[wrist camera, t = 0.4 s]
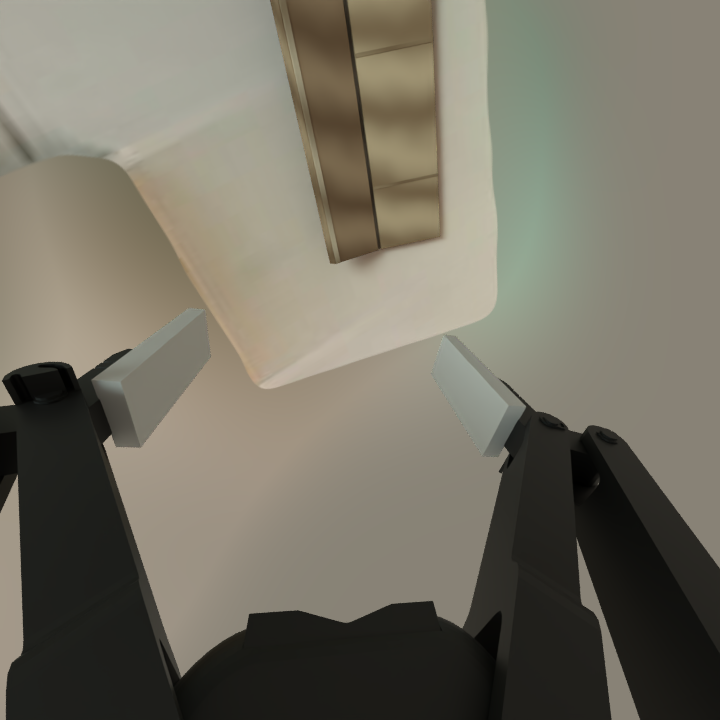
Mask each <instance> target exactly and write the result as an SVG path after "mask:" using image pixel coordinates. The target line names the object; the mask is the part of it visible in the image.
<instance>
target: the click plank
mask: <svg viewBox="0 0 720 720" xmlns="http://www.w3.org/2000/svg"><path fill="white" fill-rule="evenodd" d="M270 2H271V6H272V10H273V15H274V19H275V23H276V28H277V32H278V37H279V41H280V45H281V50H282V54H283V58H284V63H285V67H286V72H287V76H288V80H289V85H290V89H291V94H292V98H293V102H294V107H295V111H296V115H297V120H298V124H299V129H300V133H301V137H302V142H303V146H304V150H305V155H306V159H307V164H308V168H309V172H310V177H311V181H312V185H313V190H314V194H315V199H316V203H317V207H318V212H319V216H320V221H321V225H322V229H323V234H324V238H325V242H326V247H327V251H328V256H329V260H330V263H331V264H337V263H340V262H343V261H346V260H349V259H352V258H355V257H358V256H361V255H364V254H367V253H370V252H373V251H376V250H378V245H377V238H376V231H375V224H374V216H373V209H372V202H371V195H370V188H369V181H368V174H367V167H366V160H365V153H364V146H363V139H362V132H361V125H360V118H359V111H358V104H357V96H356V89H355V82H354V75H353V68H352V61H351V54H350V47H349V40H348V33H347V26H346V19H345V12H344V5H343V0H270Z"/></svg>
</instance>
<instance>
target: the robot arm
mask: <svg viewBox="0 0 720 720" xmlns="http://www.w3.org/2000/svg"><path fill="white" fill-rule="evenodd" d="M207 329H208V328H207V320H206V312H205V310H204V309H195V308H188V309H187V310H186V311H184V312H183V313H181V314H180V315H179V316H177V317H176V318H175V319H173V320H172V321H171V322H169V323H168V324H167V325H165V326H164V327H162V328H161V329H160V330H158V331H157V332H156V333H154V334H153V335H152V336H150V337H149V338H147V339H146V340H145V341H144V342H142V343H141V344H139V345H138V346H137V347H135V348H134V349H126V350H124V351H121V352H119V353H116V354H114V355H112V356H111V357H109V358H108V359H106V360H105V361H104V362H103V363H100V364H99V365H97V366H96V367H95V369H92V370H90V371H89V372H87V373H86V374H84V375H83V376H82V377H80V378H79V379H77V378H76V376H75V373H74V371H73V368H72V367H71V366H70V365H69V364H66V363H62V362H45V363H37V364H33V365H28V366H25V367H22V368H19V369H16V370H14V371H12V372H10V373H9V374H7V375H5V376H4V378H3V380H2V382H3V384H4V385H5V387H6V389H7V391H8V393H9V394H10V396H11V398H12V400H13V402H14V403H15V405H10V406H2V407H0V512H1V510H2V508H3V506H4V503H5V501H6V499H7V497H8V494H9V492H10V490H11V488H12V486H13V483H14V481H15V479H16V477H17V475H18V487H19V488H18V491H19V520H20V548H21V549H20V550H21V579H22V610H23V638H24V641H23V651H22V654H21V656H20V657H19V658H17V659H16V660H15V661H14V662H12V664H11V667H10V669H9V672H8V676H7V687H6V688H7V689H6V720H611V712H610V703H609V695H608V686H607V677H606V669H605V660H604V652H603V643H602V635H601V629H600V625H599V621H598V619H597V617H596V616H595V614H594V613H593V612H592V611H591V610H589V609H588V608H586V607H584V606H583V605H582V603H581V598H580V584H579V570H578V555H577V541H576V537H577V540H578V543H579V546H580V549H581V551H582V554H583V557H584V560H585V563H586V566H587V569H588V571H589V574H590V577H591V580H592V583H593V586H594V589H595V592H596V594H597V597H598V600H599V603H600V606H601V609H602V612H603V614H604V617H605V620H606V623H607V626H608V629H609V632H610V634H611V637H612V640H613V643H614V646H615V649H616V652H617V654H618V657H619V660H620V663H621V666H622V669H623V672H624V675H625V677H626V680H627V683H628V686H629V689H630V692H631V695H632V698H633V700H634V703H635V706H636V709H637V712H638V715H639V718H640V720H720V568H719V567H718V566H717V564H716V563H715V561H714V560H713V559H712V558H711V556H710V555H709V554H708V552H707V551H706V549H705V548H704V547H703V545H702V544H701V543H700V541H699V540H698V539H697V537H696V536H695V535H694V533H693V532H692V531H691V529H690V528H689V526H688V525H687V524H686V523H685V521H684V520H683V518H682V517H681V516H680V514H679V513H678V512H677V510H676V509H675V508H674V506H673V505H672V504H671V502H670V501H669V500H668V498H667V497H666V495H665V494H664V493H663V491H662V490H661V489H660V487H659V486H658V485H657V483H656V482H655V481H654V479H653V478H652V477H651V475H650V474H649V473H648V471H647V470H646V469H645V467H644V466H643V464H642V463H641V462H640V460H639V459H638V458H637V456H636V455H635V454H634V452H633V451H632V450H631V449H630V447H629V446H628V444H627V443H626V442H625V441H624V440H623V439H622V438H621V437H619V436H618V435H617V434H616V433H614V432H611V430H609V429H605V428H602V427H599V426H594V425H592V426H588V427H587V429H586V430H585V431H584V433H583V434H581V433H577V432H573V431H570V430H568V427H567V426H566V425H565V424H564V423H563V422H562V421H560V420H559V419H558V418H556V417H554V416H552V415H550V414H546V413H544V412H536V411H535V410H533V409H532V408H531V407H530V406H529V405H528V404H527V403H526V402H525V401H524V400H523V399H522V398H521V397H519V395H518V394H517V393H516V392H515V391H513V389H512V388H511V387H510V386H509V385H508V384H507V383H505V382H504V381H502V380H500V379H499V378H497V377H496V376H495V375H494V374H493V373H492V372H491V371H490V370H489V369H488V368H487V367H486V366H485V365H484V364H483V363H482V362H481V361H480V360H479V359H478V358H477V357H476V356H475V355H474V354H473V353H472V352H471V351H470V350H469V349H468V348H467V347H466V346H465V345H464V344H463V343H462V342H461V341H460V340H459V339H458V338H457V337H456V336H451V335H444V336H443V339H442V342H441V345H440V348H439V351H438V354H437V357H436V360H435V363H434V367H433V369H432V372H431V375H432V376H433V378H434V380H435V381H436V383H437V384H438V386H439V388H440V389H441V391H442V393H443V394H444V396H445V397H446V399H447V400H448V402H449V404H450V405H451V407H452V409H453V410H454V412H455V413H456V415H457V416H458V418H459V420H460V421H461V423H462V425H463V426H464V428H465V429H466V431H467V433H468V434H469V436H470V437H471V439H472V441H473V442H474V444H475V445H476V447H477V448H478V450H479V452H480V453H481V455H482V456H488V457H490V456H491V457H498V456H499V454H500V453H501V451H502V449H503V448H504V446H505V448H506V449H507V450H508V452H509V455H508V457H507V458H506V460H505V462H504V464H503V465H502V467H501V469H500V470H499V472H500V473H502V472H503V473H502V478H501V482H500V486H499V491H498V495H497V499H496V503H495V507H494V512H493V516H492V520H491V524H490V528H489V533H488V537H487V541H486V545H485V549H484V554H483V558H482V562H481V566H480V571H479V575H478V579H477V583H476V588H475V592H474V596H473V600H472V604H471V608H470V612H469V615H468V617H467V620H466V622H465V624H464V626H463V628H460V627H459V626H457V625H455V624H454V623H451V622H450V621H448V620H445V619H443V618H441V617H438V616H437V614H436V611H435V607H434V603H433V601H426V602H412V603H398V604H391V605H388V606H386V607H384V608H381V609H379V610H377V611H375V612H372V613H370V614H368V615H366V616H364V617H361V618H359V619H357V620H355V621H352V622H349V623H343V622H339V621H335V620H331V619H328V618H324V617H320V616H317V615H313V614H309V613H306V612H302V611H298V610H297V611H283V612H268V613H254V614H249V618H248V623H247V629H246V630H243V631H241V632H238V633H236V634H234V635H233V636H231V637H229V638H227V639H226V640H224V641H222V642H221V643H219V644H218V645H217V646H215V647H214V648H213V649H211V650H210V651H209V652H207V653H206V654H205V655H204V656H203V657H202V658H201V659H200V660H198V661H197V662H196V663H195V664H194V665H193V666H192V667H191V668H190V669H189V670H188V671H187V673H185V675H184V676H183V677H182V678H181V675H180V672H179V669H178V666H177V663H176V660H175V658H174V655H173V652H172V650H171V647H170V644H169V642H168V639H167V636H166V633H165V630H164V627H163V624H162V621H161V618H160V615H159V612H158V609H157V606H156V603H155V600H154V597H153V594H152V590H151V587H150V584H149V582H148V578H147V575H146V572H145V569H144V566H143V563H142V560H141V557H140V554H139V551H138V548H137V545H136V542H135V539H134V536H133V533H132V530H131V527H130V524H129V520H128V517H127V514H126V511H125V508H124V505H123V502H122V499H121V496H120V493H119V490H118V487H117V484H116V481H115V478H114V475H113V472H112V469H111V466H110V463H109V460H108V456H107V453H106V450H105V448H104V445H103V442H104V441H105V440H106V439H107V438H108V437H109V436H110V435H112V437H113V440H114V443H115V445H116V447H142V445H143V444H144V443H145V442H146V440H147V439H148V438H149V436H150V435H151V434H152V432H153V431H154V430H155V428H156V427H157V426H158V425H159V423H160V422H161V421H162V419H163V418H164V417H165V416H166V414H167V413H168V412H169V410H170V409H171V407H172V406H173V405H174V404H175V403H176V401H177V400H178V399H179V397H180V396H181V395H182V394H183V392H184V391H185V390H186V388H187V387H188V386H189V384H190V383H191V382H192V381H193V379H194V378H195V377H196V375H197V374H198V373H199V371H200V370H201V369H202V368H203V366H204V365H205V364H206V362H207V361H208V359H209V358H210V357H211V354H210V345H209V337H208V330H207ZM598 483H599V485H598Z"/></svg>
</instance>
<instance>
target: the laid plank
mask: <svg viewBox="0 0 720 720" xmlns="http://www.w3.org/2000/svg"><path fill="white" fill-rule="evenodd" d="M343 5H344V12H345V19H346V26H347V33H348V40H349V47H350V54H351V61H352V68H353V75H354V82H355V89H356V96H357V104H358V111H359V118H360V125H361V132H362V139H363V146H364V153H365V160H366V167H367V174H368V181H369V188H370V195H371V202H372V209H373V216H374V224H375V231H376V238H377V245H378V249H384V248H389V247H394V246H398V245H403V244H408V243H412V242H417V241H422V240H427V239H431V238H436V237H440V226H439V198H438V171H437V143H436V116H435V88H434V60H433V33H432V5H431V0H343Z"/></svg>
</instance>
